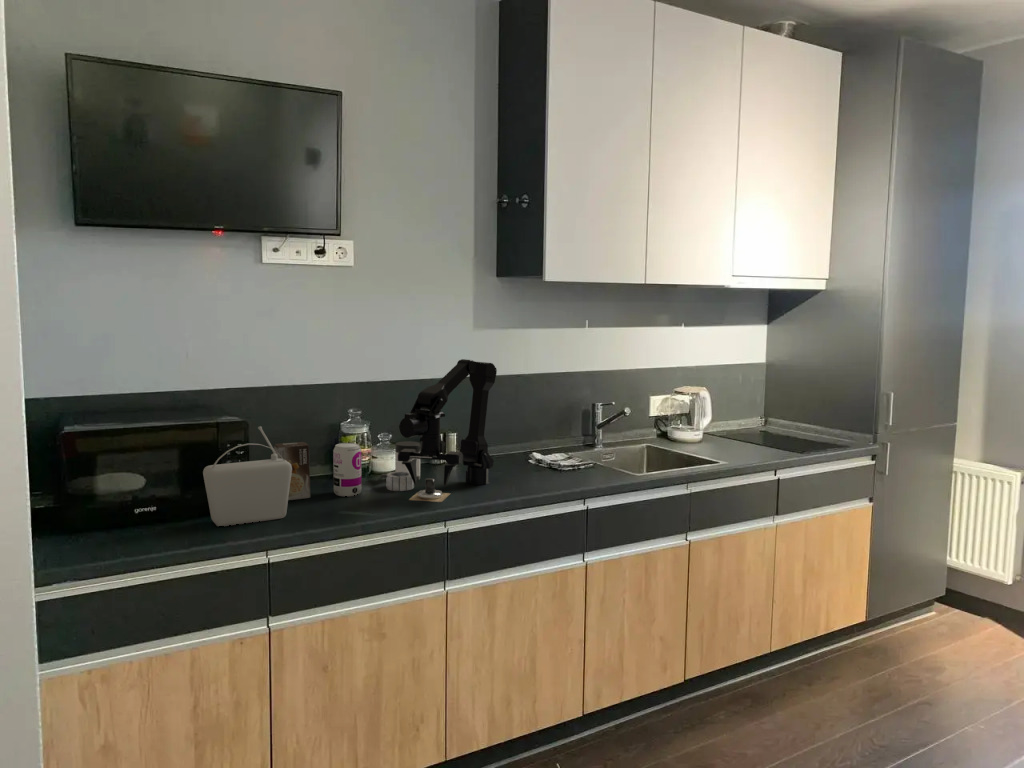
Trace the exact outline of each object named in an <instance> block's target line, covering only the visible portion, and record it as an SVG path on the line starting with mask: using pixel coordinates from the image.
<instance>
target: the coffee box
mask: <svg viewBox="0 0 1024 768" xmlns="http://www.w3.org/2000/svg"><path fill="white" fill-rule="evenodd" d="M273 446H274V447H273V449H274V450H275V451H276V452H275V453H276V454H277V455H278V456H277V459H282V458H283V459H284V460H286V461H287V462H289V463H290V464H291V466H292V474H291V481H290V489H289V496H288V501H294V500H302V499H310V498H311V478H310V477H311V475H310V474H311V473H310V472H311V471H310V470H311V469H310V466H311V465H310V445H309V444H308V443H306V442H305V441H299V442H297V441H296V442H283V443H274V445H273ZM278 453H279V454H280V455H281V456H282V458H281V457H280V455H279V454H278Z"/></svg>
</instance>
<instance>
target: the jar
mask: <svg viewBox="0 0 1024 768" xmlns="http://www.w3.org/2000/svg"><path fill="white" fill-rule="evenodd" d="M403 449H415V450H416V452H419V453H420V451H421V442H420V441H411V440H409V441H408V440H407V441H399V442H396V443H395V455H394V457H395V458H394V459H395V461H394V463H395V464H394V465H395V466H394V467H395V469H394V470H395V471H394V472H396V471H405V472H409V471H408V469H407V468H406V466H405V464H402V462H403V461H398V453H399V452H400V451H401V450H403ZM416 473H417V476H420V477H421V459H417V461H416Z"/></svg>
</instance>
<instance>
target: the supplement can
mask: <svg viewBox="0 0 1024 768" xmlns="http://www.w3.org/2000/svg"><path fill="white" fill-rule="evenodd" d="M332 452H333V453H332V454H333V456H332V458H333V464H332V465H333V466H332V468H333V493H334V494H335V495H336V496H338V497H345V496H347V497H355V496H358V495H360V493H361V492H362V448H361V447H360V444H359V443H355V442H341V443H337V444H335V445H334V448H333V450H332ZM357 494H358V495H357ZM354 495H355V496H354Z"/></svg>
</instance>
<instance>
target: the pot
mask: <svg viewBox="0 0 1024 768" xmlns="http://www.w3.org/2000/svg"><path fill="white" fill-rule="evenodd" d="M380 478H383V479H384V478H385V479H386V480H385V482H386V483H385V485H386V488H385V489H387V490H389V491H391V492H392V491H394V492H405V491H411V490H413V489H414V488H415V484H414V482H413V480H412V477H411V475H410V473H409V472H405V471H396V472H395V471H391V472H387V473H382V474H380ZM420 479H421V475H420V476H417V481H419V480H420Z"/></svg>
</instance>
